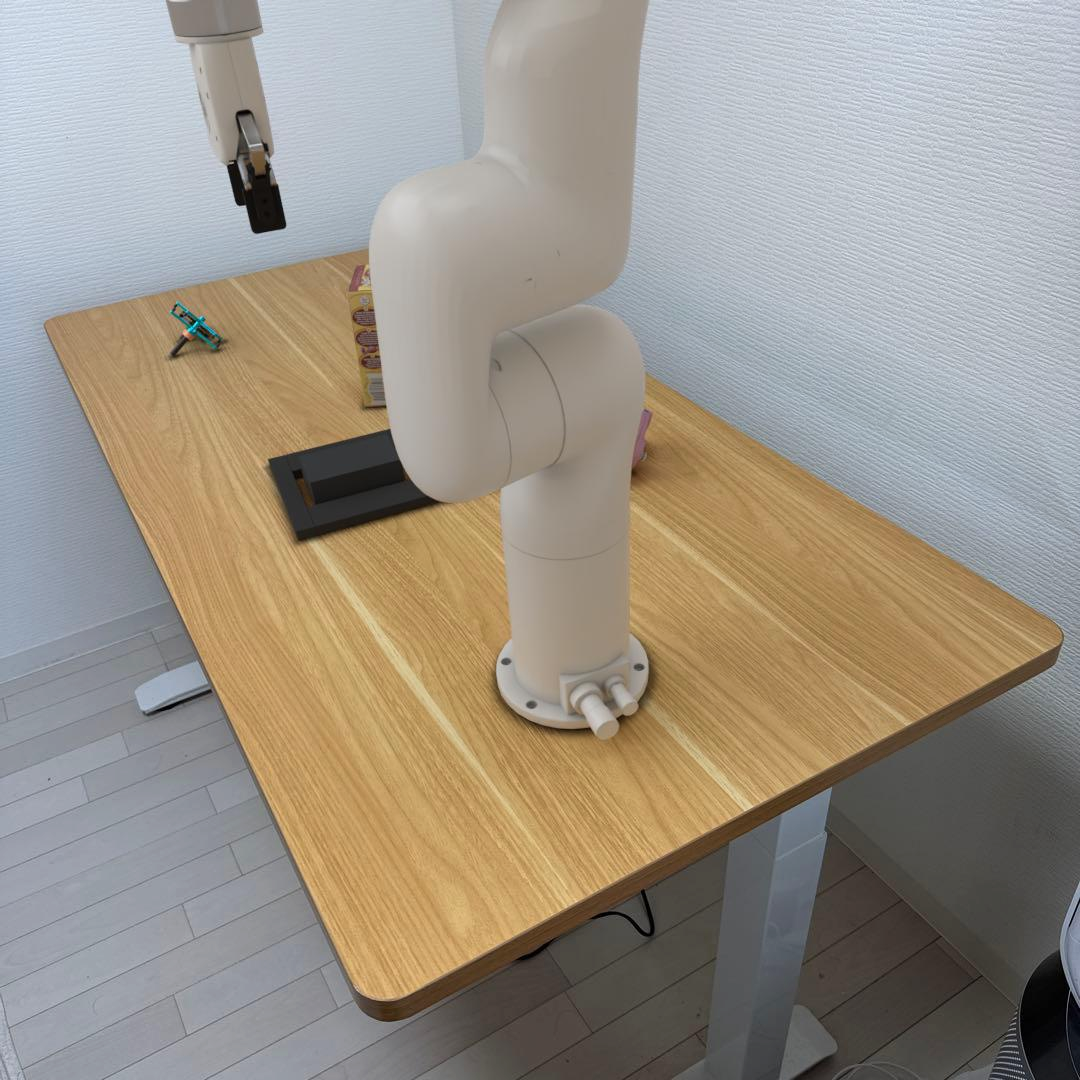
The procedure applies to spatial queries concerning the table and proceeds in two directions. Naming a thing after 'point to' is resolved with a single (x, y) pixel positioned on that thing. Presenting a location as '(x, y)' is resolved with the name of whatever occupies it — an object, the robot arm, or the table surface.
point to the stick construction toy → (192, 329)
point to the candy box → (366, 337)
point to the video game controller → (641, 438)
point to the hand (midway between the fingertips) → (260, 216)
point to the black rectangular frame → (343, 509)
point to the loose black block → (351, 469)
